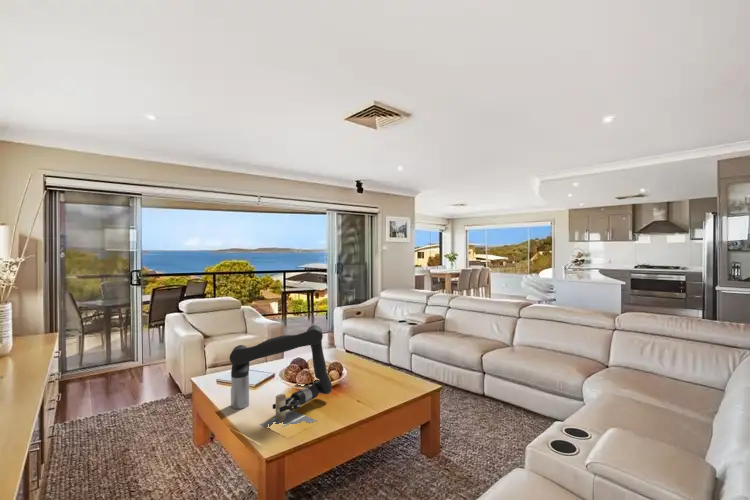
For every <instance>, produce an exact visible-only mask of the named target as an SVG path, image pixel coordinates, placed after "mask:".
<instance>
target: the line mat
mask: <svg viewBox="0 0 750 500" xmlns="http://www.w3.org/2000/svg"><path fill="white" fill-rule="evenodd" d="M302 421H305V422H306V423H309V424H310V423H314V421H315V422H317V421H318V420H316V419H314V418H312V417H309V416H307V415H305V414H302V413H300V412H297V411H296V410H291V411H290V410H286V419H285V420H284V421H280V422H279V421H276V416H275V417H272V418H271V419H269V420H267V421H264V422H262V423H260V424H259V425H260V426H262V427H264V428H265V429H267V427H268V424H269V427H270V426H271V425H272V424H273V422H276V423H275V424H279V423H282V422H283V424H286V425H284V426H282V427H285V426H287V425H289V424H297V423H301V422H302ZM310 421H311V422H310Z"/></svg>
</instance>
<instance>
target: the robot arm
mask: <svg viewBox="0 0 750 500" xmlns="http://www.w3.org/2000/svg"><path fill="white" fill-rule="evenodd" d="M323 338H324V335H323V330H322V329H321V327H320V326H318V325H315V324H314V325H311V326H309V327H308V328H307V329H306V331H304V332H302V333H298V334H291V335H290V334H286V335H285V334H283V335H279V336H275V337H272V338H271V337H270V338H269V339H266V340H264V341H262V342H260V343H257V345H253V346H249V347H247V346H246V345H243V344H239V345H237V346H235V347H234V348H233V349H232V351H231V352H230V354H229V362H230V363H231V371H230V381H231V382H230V383H231V384H230V385H231V388H230V405H231V408H232V409H235V410H242V409H245V408H247V407H248V406H249V405H250V377H249V375H250V372H249V371H250V362H253V361H256V360H258V359H262V358H266V357H269V356H270V357H271V356H274V355H278V354H282V353H286V352H288V351H289V352H290V351H293V350H296V349H298V348H302V347H307V346H309V347H310V349H311V354H312V355H311V356H312V365H313V366H312V367H313V372H314V373H315V377H316V378H317V380H316V381H315V382H313V384H310V386H307V387H304V388H302V389H299V390H297V391H295V392H294V391H293V392H292V393H291V395H290V396H287V397H286V405H285V406H283V407H280V412H283V411H285V410H286V411H289V410H290V411H291V410H293V411H295V410H298V409H300V408H301V407H302V405H305V404H307V403H308V402H310V401H311V400H314V399H316V398H317V397H318V396H319V395H320V394H322V395H328V394H330V393H331V392H332V390H333V384H332V381H331V378H330V377H329V374H328V371H327V364H326V361H325V360H326V359H325V356H324V351H323V343H322V342H323V341H322V340H323ZM272 409H273V410H276V403H274V404H272Z"/></svg>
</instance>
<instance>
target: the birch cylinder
mask: <svg viewBox="0 0 750 500" xmlns="http://www.w3.org/2000/svg"><path fill="white" fill-rule="evenodd" d="M286 398H287V395H286V394H284V393H281V394H277V395H275V404H276V408H275V417H276V421H279V422H280V421H284V420H285V419H286V412H287V410H285V411H283V412H280V407H283V406H285V405H286Z"/></svg>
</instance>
